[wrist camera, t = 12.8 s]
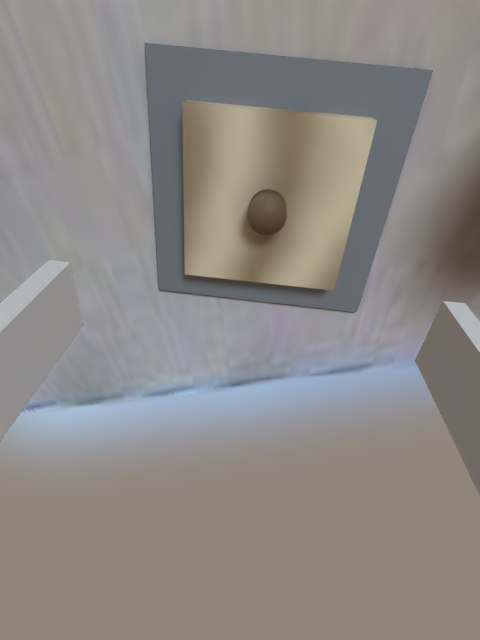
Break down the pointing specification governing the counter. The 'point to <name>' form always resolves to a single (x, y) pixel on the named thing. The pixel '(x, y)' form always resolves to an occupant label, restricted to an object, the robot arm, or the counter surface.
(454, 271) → the counter surface
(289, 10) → the counter surface
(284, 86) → the rubber mat
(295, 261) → the bamboo lid
